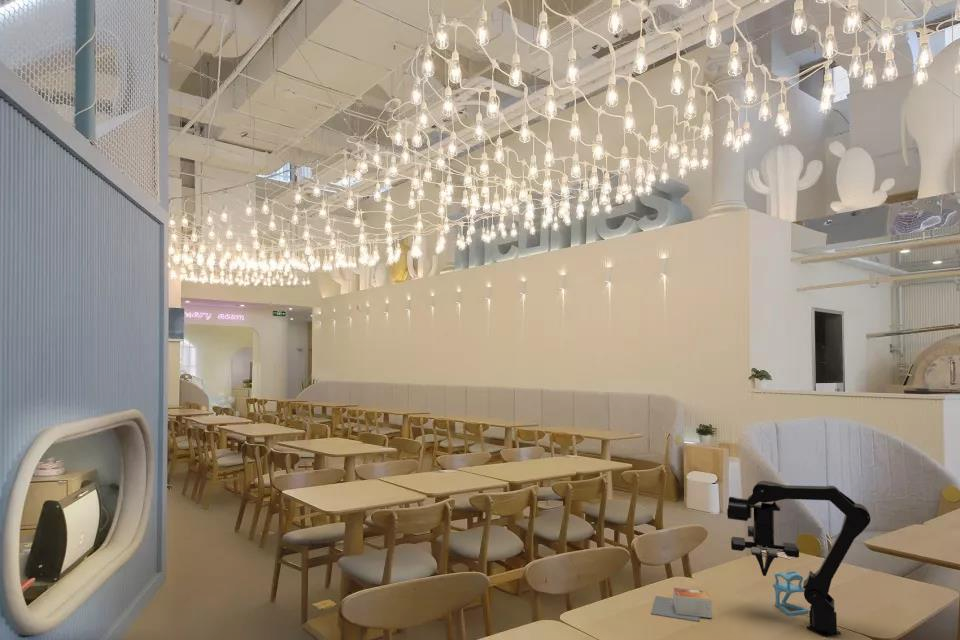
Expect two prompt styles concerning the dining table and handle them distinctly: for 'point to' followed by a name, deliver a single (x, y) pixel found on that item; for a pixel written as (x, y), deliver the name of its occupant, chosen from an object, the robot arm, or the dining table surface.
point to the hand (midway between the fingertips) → (764, 575)
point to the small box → (692, 602)
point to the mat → (669, 609)
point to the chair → (788, 592)
